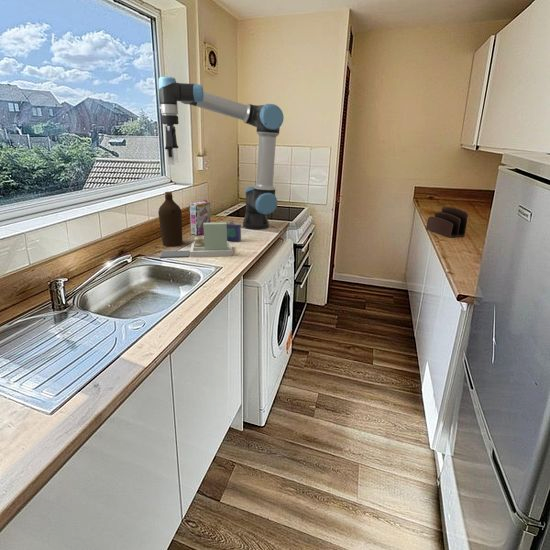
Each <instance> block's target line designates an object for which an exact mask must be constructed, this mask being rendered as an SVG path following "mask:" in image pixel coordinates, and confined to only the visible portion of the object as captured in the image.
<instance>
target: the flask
mask: <svg viewBox="0 0 550 550" xmlns="http://www.w3.org/2000/svg"><path fill="white" fill-rule="evenodd" d="M226 224H227V242H231V243H232V242H233V243H240V242H242V229H241V228H242V225H241V223H234V220H233V219H230V220H229V221H226Z"/></svg>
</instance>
